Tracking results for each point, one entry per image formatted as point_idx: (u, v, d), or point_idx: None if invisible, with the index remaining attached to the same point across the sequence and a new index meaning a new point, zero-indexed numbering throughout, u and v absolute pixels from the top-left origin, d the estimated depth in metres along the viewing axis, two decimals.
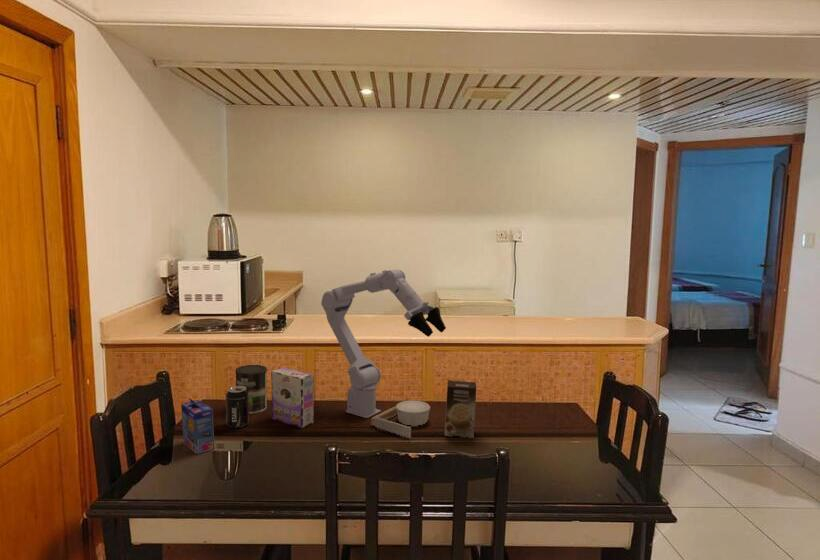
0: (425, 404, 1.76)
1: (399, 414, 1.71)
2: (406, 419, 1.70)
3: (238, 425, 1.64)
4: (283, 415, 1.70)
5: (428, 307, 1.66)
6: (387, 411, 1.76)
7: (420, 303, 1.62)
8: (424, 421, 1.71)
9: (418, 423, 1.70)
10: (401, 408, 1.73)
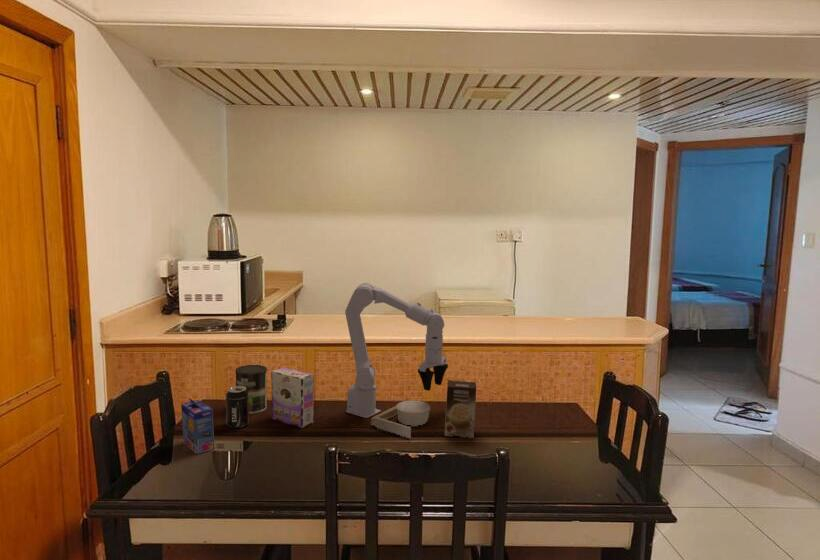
0: (425, 404, 1.76)
1: (399, 414, 1.71)
2: (406, 419, 1.70)
3: (238, 425, 1.64)
4: (282, 415, 1.70)
5: None
6: (387, 411, 1.76)
7: (438, 361, 1.77)
8: (424, 421, 1.71)
9: (418, 423, 1.70)
10: (401, 408, 1.73)
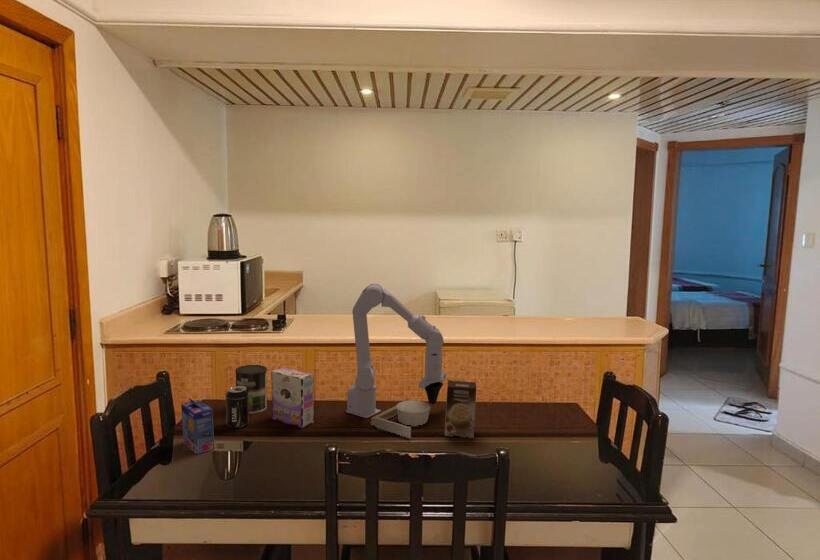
0: (425, 404, 1.76)
1: (399, 414, 1.71)
2: (406, 419, 1.70)
3: (238, 425, 1.64)
4: (283, 415, 1.70)
5: None
6: (387, 411, 1.76)
7: (438, 377, 1.77)
8: (424, 421, 1.71)
9: (418, 423, 1.70)
10: (401, 408, 1.73)
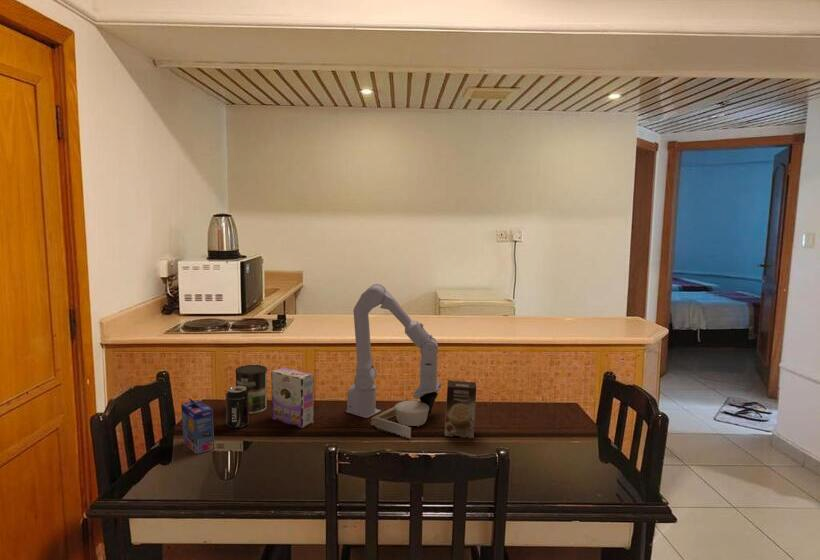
0: (424, 404, 1.75)
1: (398, 414, 1.71)
2: (404, 419, 1.69)
3: (238, 425, 1.64)
4: (283, 415, 1.70)
5: None
6: (387, 411, 1.76)
7: (433, 387, 1.75)
8: (423, 421, 1.71)
9: (417, 423, 1.69)
10: (400, 408, 1.73)
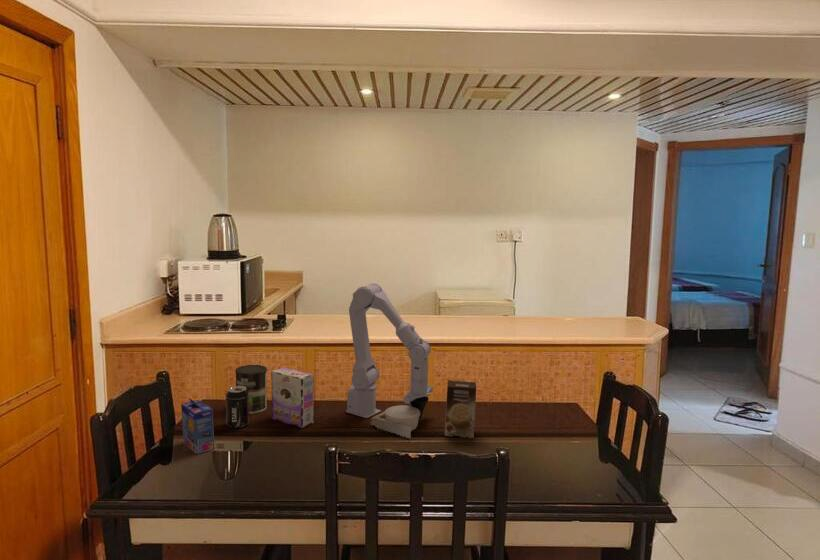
0: (415, 409, 1.71)
1: (388, 420, 1.66)
2: None
3: (238, 425, 1.64)
4: (283, 415, 1.70)
5: None
6: None
7: (423, 392, 1.71)
8: (414, 427, 1.66)
9: None
10: (390, 413, 1.68)
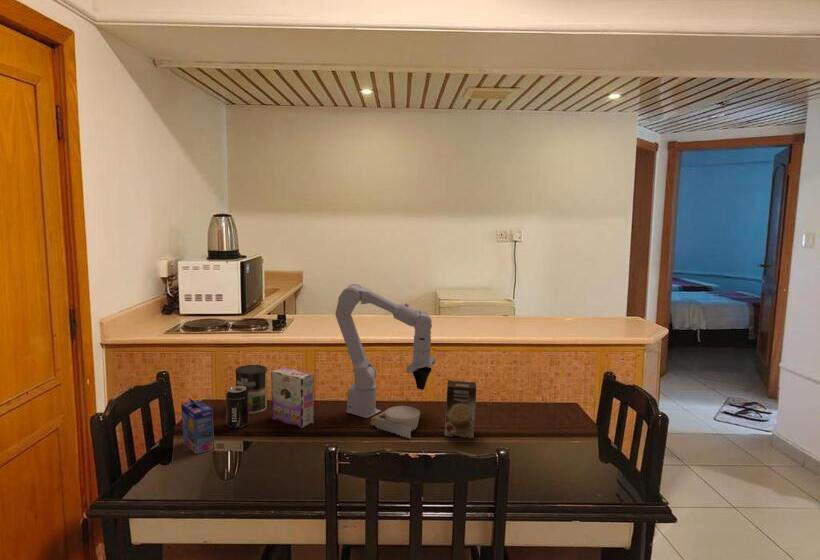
0: (415, 410, 1.71)
1: (388, 420, 1.66)
2: None
3: (238, 425, 1.64)
4: (282, 415, 1.70)
5: None
6: None
7: (426, 362, 1.75)
8: (414, 427, 1.66)
9: None
10: (390, 414, 1.68)
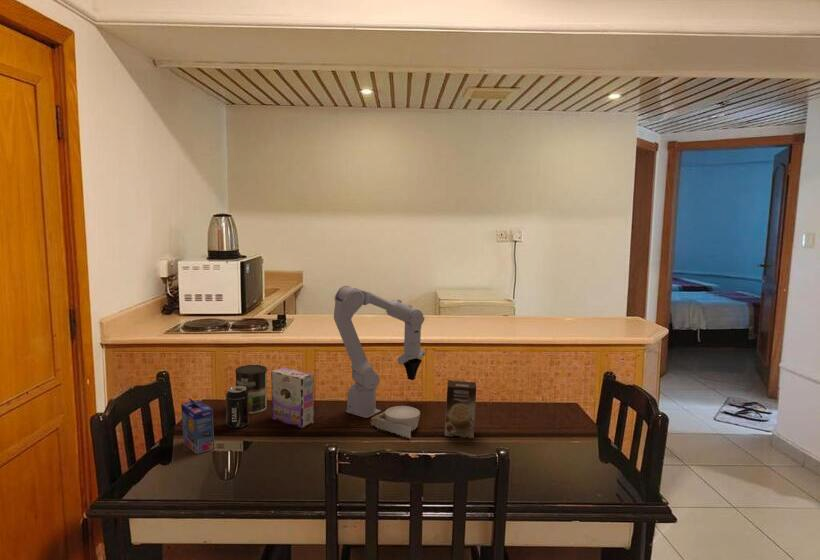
0: (415, 410, 1.71)
1: (388, 420, 1.66)
2: None
3: (238, 425, 1.64)
4: (282, 415, 1.70)
5: None
6: None
7: (416, 354, 1.85)
8: (414, 427, 1.66)
9: None
10: (390, 414, 1.68)
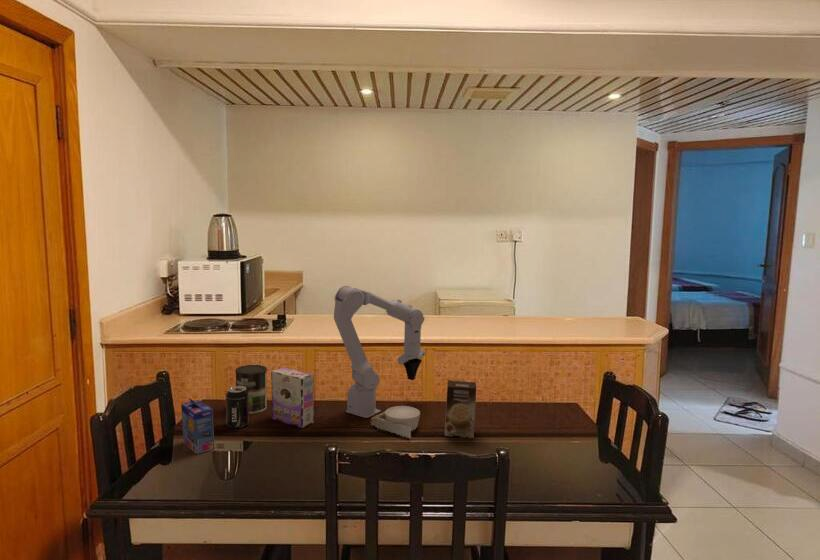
0: (415, 410, 1.71)
1: (388, 420, 1.66)
2: None
3: (238, 425, 1.64)
4: (283, 415, 1.70)
5: None
6: None
7: (416, 354, 1.85)
8: (414, 427, 1.66)
9: None
10: (390, 414, 1.68)
